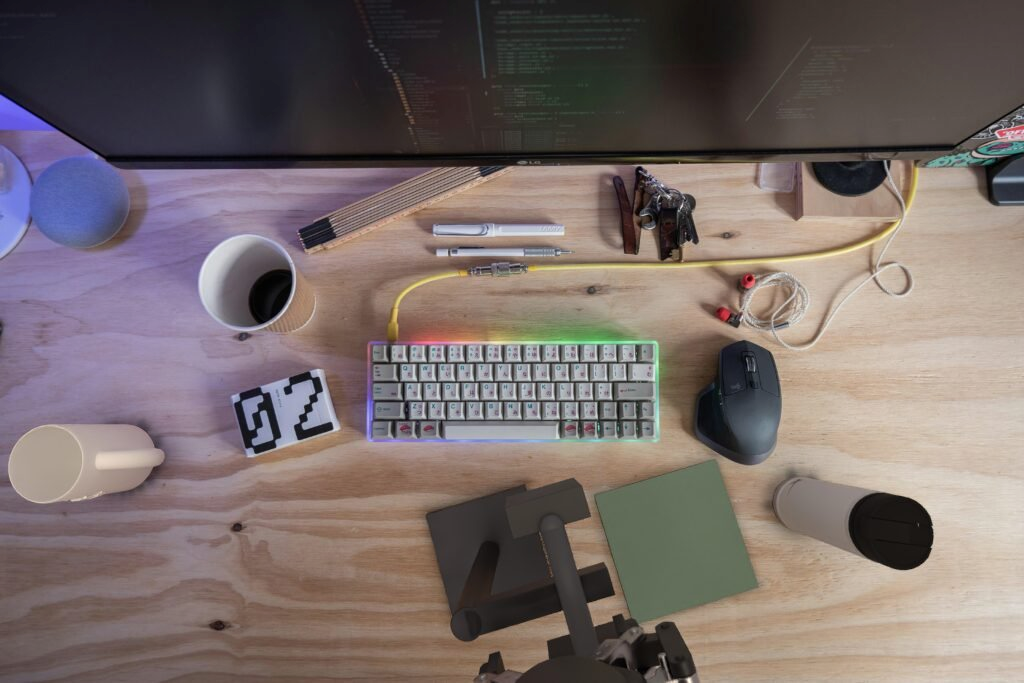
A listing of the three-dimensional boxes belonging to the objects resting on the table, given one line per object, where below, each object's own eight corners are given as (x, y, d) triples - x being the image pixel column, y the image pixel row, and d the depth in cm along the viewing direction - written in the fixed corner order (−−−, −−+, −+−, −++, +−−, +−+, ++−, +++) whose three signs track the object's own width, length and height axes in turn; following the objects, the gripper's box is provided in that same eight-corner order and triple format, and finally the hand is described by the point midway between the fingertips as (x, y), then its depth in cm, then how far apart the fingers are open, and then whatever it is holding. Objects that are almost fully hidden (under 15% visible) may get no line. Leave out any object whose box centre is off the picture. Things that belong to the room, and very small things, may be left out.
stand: (595, 573, 70) (637, 665, 43) (454, 615, 69) (408, 734, 43) (565, 472, 71) (587, 500, 45) (427, 512, 71) (366, 565, 44)
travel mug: (771, 472, 71) (866, 490, 51) (828, 480, 70) (945, 501, 51) (767, 526, 70) (861, 566, 50) (824, 535, 69) (942, 578, 50)
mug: (187, 490, 72) (120, 503, 60) (89, 494, 72) (3, 507, 61) (189, 421, 73) (124, 421, 61) (93, 425, 74) (10, 425, 62)
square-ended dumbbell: (624, 649, 49) (646, 694, 41) (554, 670, 49) (561, 720, 41) (573, 477, 51) (583, 486, 43) (506, 496, 51) (503, 510, 43)
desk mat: (758, 586, 69) (759, 587, 68) (633, 624, 69) (633, 625, 68) (715, 459, 71) (716, 459, 71) (594, 495, 71) (594, 495, 70)
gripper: (435, 949, 23) (473, 738, 39) (783, 841, 24) (680, 674, 40) (387, 748, 25) (443, 622, 41) (719, 646, 25) (644, 560, 41)
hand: (560, 648), depth 40 cm, fingers open, 8 cm apart
